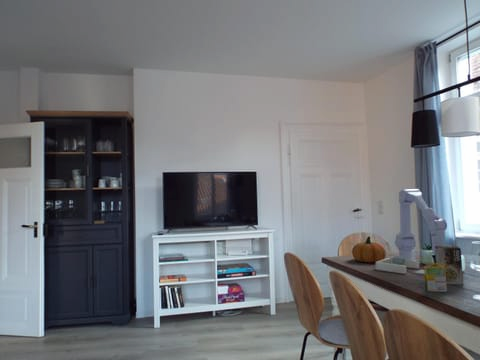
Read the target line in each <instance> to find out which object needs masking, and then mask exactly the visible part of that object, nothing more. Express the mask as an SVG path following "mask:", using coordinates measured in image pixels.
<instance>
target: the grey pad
mask: <svg viewBox="0 0 480 360" xmlns="http://www.w3.org/2000/svg"><path fill="white" fill-rule="evenodd" d="M413 273H414V274H418V275H424V276H425V272H424V269H420V270H417V271H414V272H413Z"/></svg>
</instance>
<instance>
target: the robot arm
mask: <svg viewBox="0 0 480 360" xmlns="http://www.w3.org/2000/svg"><path fill="white" fill-rule="evenodd" d="M398 203H399V222H400V223H399V232H398V233H397V234H396V235H395V240H394V245H395V247H396V248H397V250H398V257H399V258H405V260H414V261H416V252H415V250H414V249H415V248H416V244H417V242H416V238H415V234H413V233H412V232H411V231H412V230H411V229H412V228H411V205H412V204H413V203H414V204H415V205H416V206H417V207H418V208H419V209H420V210H421V215H422V217H423V218H424V219H425V220H426V222H427V223H428V225H427V228H428V229H429V233H430V235H431V247H432V248H431V249H432V251H429V254H430V255H431V258H432V259H433V263H436V254H435V246H446V237H445V236H446V235H445V234H446V233H445V231H446V230H447V227H448V223H447V222H446V220H445V219H444V218H441V217H439V215H438V214H437V213H436V211H435V209H433V208H432V207H429V206H428V205H427V203H426V202H425V200H424V198H423V193H422V192H421V190H420V189H419V188H411V189H409V188H408V189H406V188H405V189H404V188H402V189H401V190H399V192H398ZM435 267H436V264H435Z"/></svg>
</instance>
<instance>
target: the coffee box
mask: <svg viewBox="0 0 480 360" xmlns="http://www.w3.org/2000/svg"><path fill="white" fill-rule="evenodd" d="M461 250H462V249H461V247H459V246H458V245H445V246H435V254H436V263H445V272H446V285H459V286H461V285H464V274H463V263H462V251H461ZM435 254H434V255H435ZM437 266H440V265H436V266H435V267H437Z"/></svg>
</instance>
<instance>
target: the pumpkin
mask: <svg viewBox="0 0 480 360" xmlns="http://www.w3.org/2000/svg"><path fill="white" fill-rule="evenodd" d="M351 254H352V255H351V256H353V258H354V259H355V260H356V261H358V262H362V263H367V262H368V264H369V263H370V264H371V263H372V264H373V263H375V262H377V261H381V260H384V259H386V257H387V252H386V250H385V247H383V246H382V245H381V244H379V243H378V242H371V236H367V238H366V241H365V242H363V241H361V242H358V243H356V244H355V245H354V246H353V248H352V250H351Z"/></svg>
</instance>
